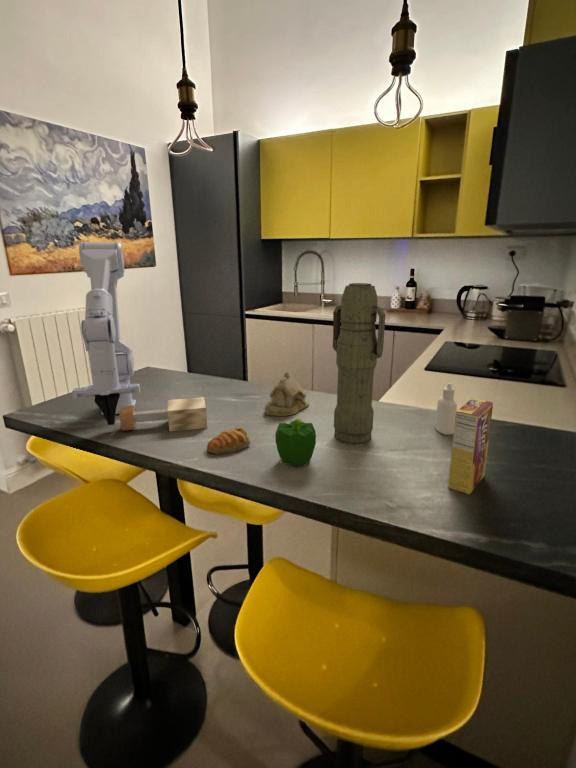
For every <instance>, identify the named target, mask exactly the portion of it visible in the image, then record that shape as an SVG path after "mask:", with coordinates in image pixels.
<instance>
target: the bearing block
mask: <svg viewBox="0 0 576 768" xmlns="http://www.w3.org/2000/svg"><path fill="white" fill-rule="evenodd" d="M206 405H207V404H206V402H205V397H204V396H202V397H190V398H178V399H177V398H175V399H168V400H167V409H168V419H167V420H168V421H167V422H168V430H169V432H176V431H177V432H179V431H180V432H181V431H189V430H198V429H199V430H200V429H207V428H208V419H207V406H206Z"/></svg>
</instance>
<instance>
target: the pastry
mask: <svg viewBox="0 0 576 768" xmlns="http://www.w3.org/2000/svg"><path fill="white" fill-rule="evenodd" d="M250 444H251V439H250V437H249V435H248V433H247V430H246V429H244V428H243V427H238V426H237V427H236V426H235V428H233V429H228V430H224V431H221V432H220V433H219V434H218V435H216V436H214V437H213V438H212V439H210V440H209V441H208V442H207V447H206V451H208V452H210V453H212V454H216V455H220V454H226V453H228V454H229V453H233V452H236V451H240V450H243V449H246V448H248V447H249V446H250Z"/></svg>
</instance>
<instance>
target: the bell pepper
mask: <svg viewBox="0 0 576 768" xmlns="http://www.w3.org/2000/svg"><path fill="white" fill-rule="evenodd" d="M316 432H317V431H316V429H315V426H314V424H313V422H304V421H303V420H302V419H300V418H299V417H298V418H295V419H294V420H292V421H290V422H289V423H286V422H281V423H280V422H279V423H278V425H277V428H276V430H275V445H276V449H277V453H278V456H279V458H280V460H281V461H282V463H283V464H290V465H291V466H294V467H303V466H306V465H308V464H309V462H310V461H311V459H312V457H313V455H314V451H315V447H316V442H317V441H316V439H317V434H316Z"/></svg>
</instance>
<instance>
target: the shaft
mask: <svg viewBox="0 0 576 768" xmlns="http://www.w3.org/2000/svg"><path fill="white" fill-rule="evenodd" d="M135 408H136V407H134V405H132V406H121V409H120V412H119V414H118V415H119V420H120V422H119V423H120V427H121V428H120V430H121V431H130V430H135V429H136V425H137V423H144V422H153V421H154V422H155V421H156V422H157V421H164V420H165V421H166V420H168V408H163V409H152V410H141V411H136V409H135Z"/></svg>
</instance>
